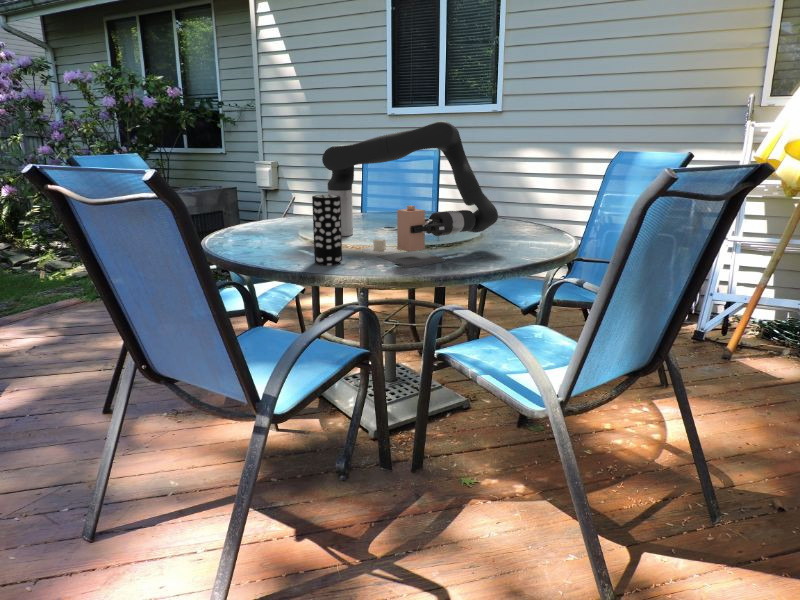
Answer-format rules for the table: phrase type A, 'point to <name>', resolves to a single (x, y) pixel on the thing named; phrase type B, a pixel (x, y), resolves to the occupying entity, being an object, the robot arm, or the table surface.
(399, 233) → the tan capped carton
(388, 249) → the saucer
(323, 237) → the spotted tube
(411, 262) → the mat
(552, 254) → the table surface
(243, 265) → the table surface
